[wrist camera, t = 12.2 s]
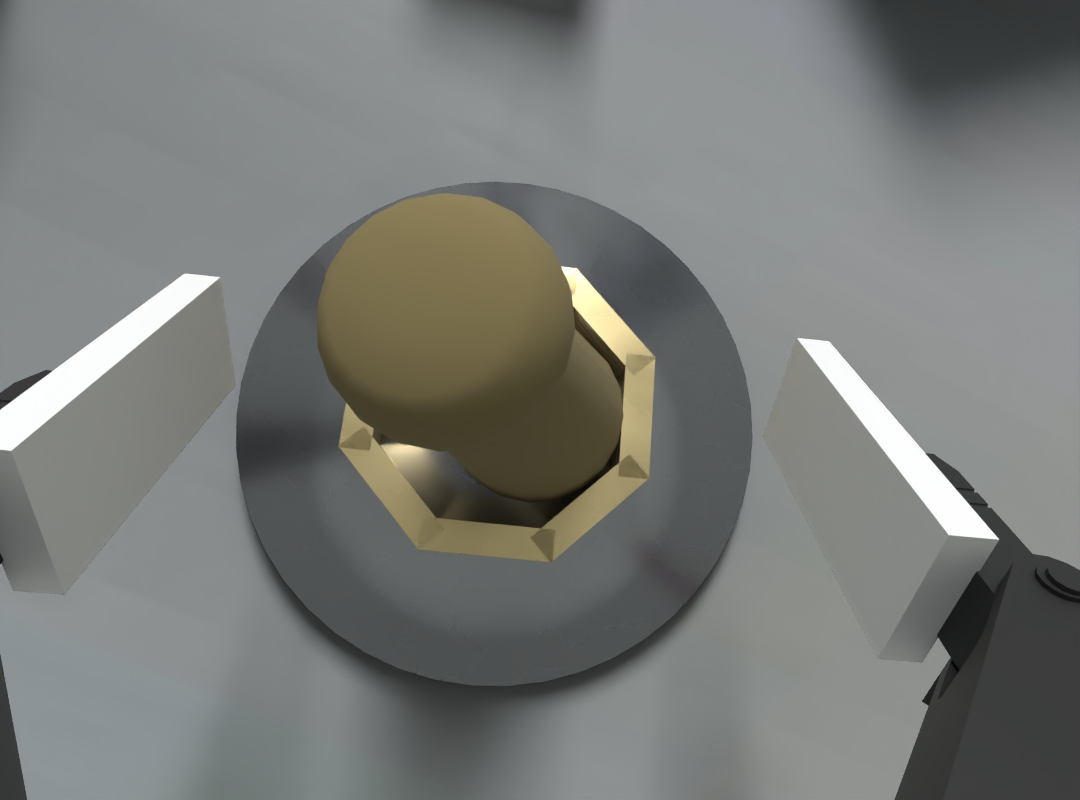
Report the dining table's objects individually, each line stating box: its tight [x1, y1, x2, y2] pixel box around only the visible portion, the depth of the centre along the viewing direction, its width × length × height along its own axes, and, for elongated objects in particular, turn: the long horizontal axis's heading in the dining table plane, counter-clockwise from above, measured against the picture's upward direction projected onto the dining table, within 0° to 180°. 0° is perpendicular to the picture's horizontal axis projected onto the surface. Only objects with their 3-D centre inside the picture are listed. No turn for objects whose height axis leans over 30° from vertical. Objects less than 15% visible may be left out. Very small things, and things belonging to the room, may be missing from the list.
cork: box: [317, 193, 624, 502], centre depth 17 cm, size 6×6×11 cm
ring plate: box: [236, 182, 752, 686], centre depth 23 cm, size 18×18×2 cm
